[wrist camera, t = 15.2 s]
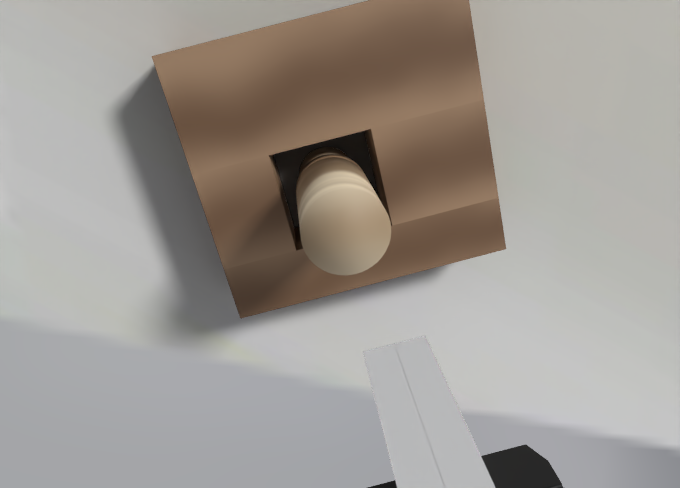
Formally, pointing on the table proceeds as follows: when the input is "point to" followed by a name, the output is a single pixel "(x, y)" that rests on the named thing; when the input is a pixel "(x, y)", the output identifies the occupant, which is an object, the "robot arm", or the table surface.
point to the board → (332, 122)
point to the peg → (340, 214)
